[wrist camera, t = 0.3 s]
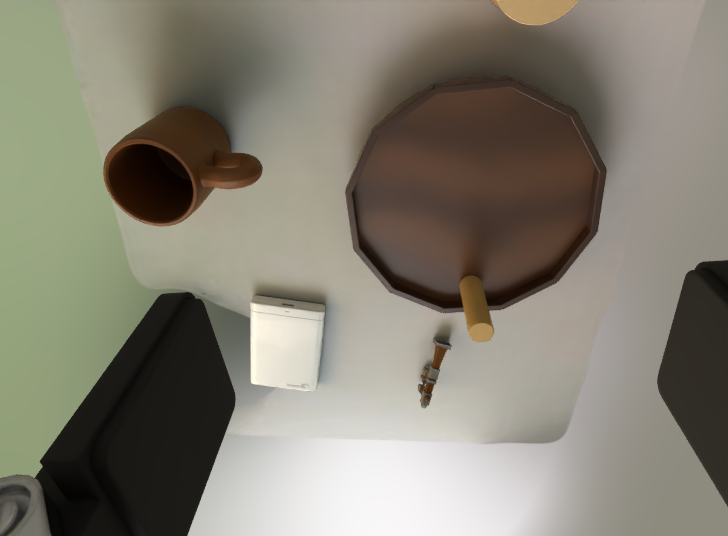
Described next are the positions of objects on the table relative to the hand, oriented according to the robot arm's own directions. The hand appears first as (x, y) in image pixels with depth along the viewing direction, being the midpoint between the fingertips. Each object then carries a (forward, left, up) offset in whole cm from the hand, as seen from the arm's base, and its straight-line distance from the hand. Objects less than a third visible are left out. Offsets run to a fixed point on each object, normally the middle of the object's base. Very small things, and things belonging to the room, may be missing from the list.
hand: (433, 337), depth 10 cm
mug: (+6, -18, -36) cm, 41 cm away
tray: (+13, +5, -34) cm, 37 cm away
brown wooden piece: (+34, +1, -36) cm, 50 cm away
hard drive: (+30, -16, -36) cm, 50 cm away
